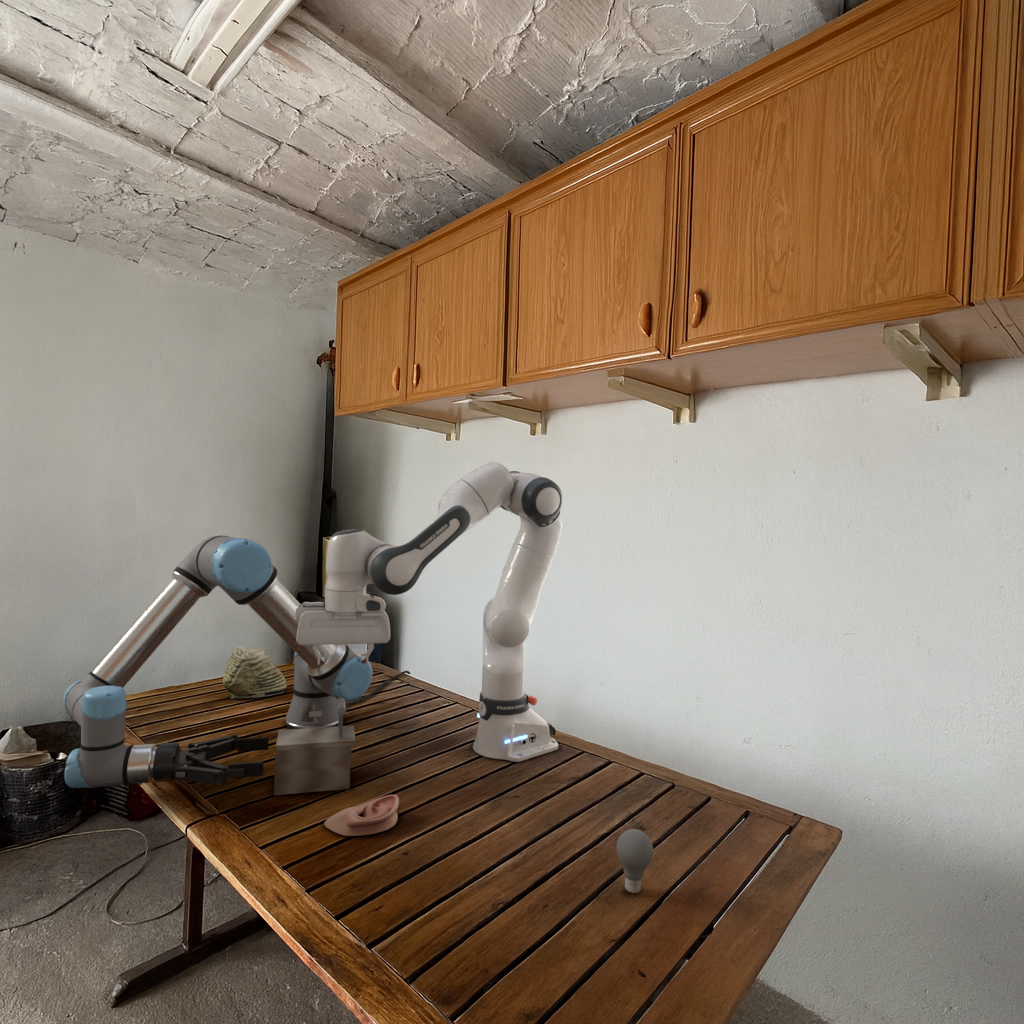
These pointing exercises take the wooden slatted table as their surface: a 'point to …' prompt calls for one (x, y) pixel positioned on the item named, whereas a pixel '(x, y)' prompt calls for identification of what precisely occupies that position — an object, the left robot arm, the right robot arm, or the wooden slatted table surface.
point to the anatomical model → (365, 817)
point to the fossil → (252, 674)
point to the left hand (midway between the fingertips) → (266, 755)
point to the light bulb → (634, 857)
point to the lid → (318, 735)
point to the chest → (312, 770)
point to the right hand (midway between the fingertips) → (343, 663)
